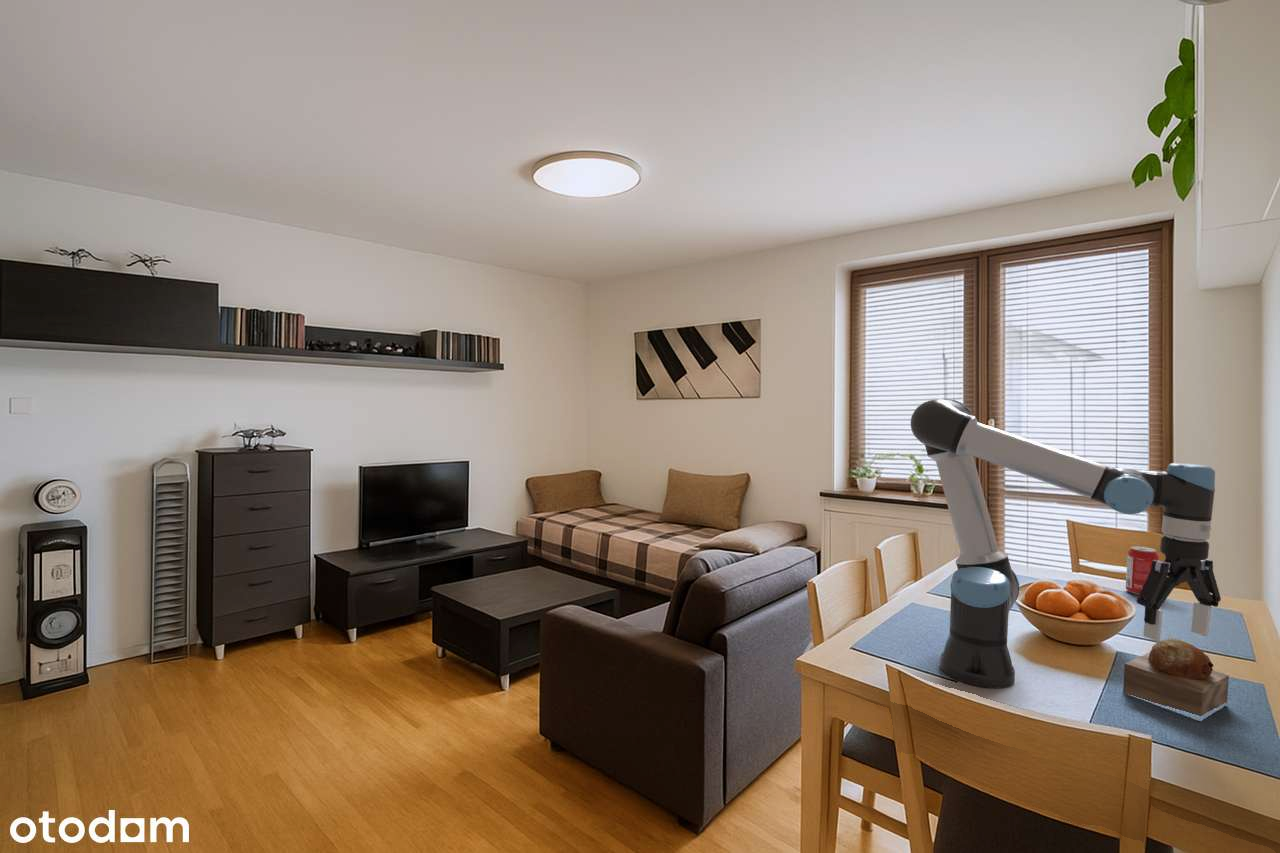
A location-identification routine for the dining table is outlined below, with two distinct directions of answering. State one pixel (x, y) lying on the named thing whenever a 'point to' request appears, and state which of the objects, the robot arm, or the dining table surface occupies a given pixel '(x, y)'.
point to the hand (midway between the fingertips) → (1175, 636)
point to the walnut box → (1174, 687)
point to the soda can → (1139, 567)
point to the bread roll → (1180, 659)
